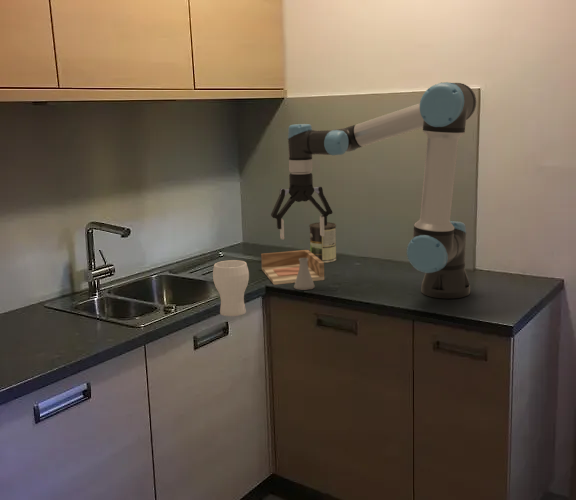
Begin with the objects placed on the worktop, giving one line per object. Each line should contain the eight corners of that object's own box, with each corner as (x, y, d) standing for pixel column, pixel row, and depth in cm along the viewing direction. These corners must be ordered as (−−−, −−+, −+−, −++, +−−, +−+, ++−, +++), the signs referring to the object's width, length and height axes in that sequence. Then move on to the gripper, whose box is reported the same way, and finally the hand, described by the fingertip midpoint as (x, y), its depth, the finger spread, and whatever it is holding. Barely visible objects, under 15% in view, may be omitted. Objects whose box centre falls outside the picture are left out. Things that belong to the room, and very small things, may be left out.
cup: (228, 305, 205) (225, 258, 202) (257, 309, 200) (255, 261, 197) (208, 315, 196) (204, 266, 193) (237, 320, 191) (235, 269, 188)
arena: (324, 279, 231) (324, 262, 229) (273, 284, 227) (273, 267, 225) (308, 265, 252) (307, 249, 250) (261, 269, 248) (261, 253, 246)
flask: (315, 284, 225) (315, 256, 223) (314, 290, 218) (313, 261, 216) (294, 284, 226) (293, 256, 224) (292, 290, 219) (291, 261, 217)
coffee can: (309, 262, 256) (308, 227, 253) (311, 256, 266) (310, 222, 263) (335, 262, 254) (334, 226, 251) (337, 256, 264) (336, 222, 261)
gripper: (334, 169, 220) (335, 232, 225) (260, 173, 215) (263, 237, 219) (341, 171, 213) (341, 236, 217) (265, 176, 207) (267, 242, 212)
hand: (302, 237), depth 218 cm, fingers open, 13 cm apart
